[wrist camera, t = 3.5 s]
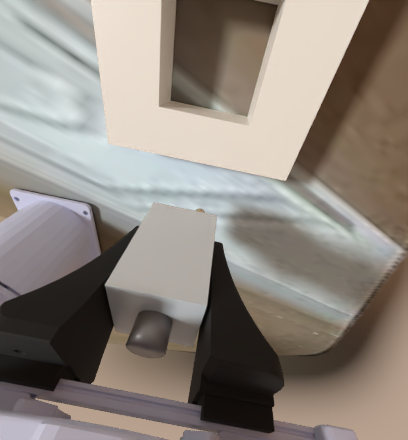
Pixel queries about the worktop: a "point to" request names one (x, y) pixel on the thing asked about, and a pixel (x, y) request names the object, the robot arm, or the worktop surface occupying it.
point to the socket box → (208, 118)
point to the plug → (163, 280)
